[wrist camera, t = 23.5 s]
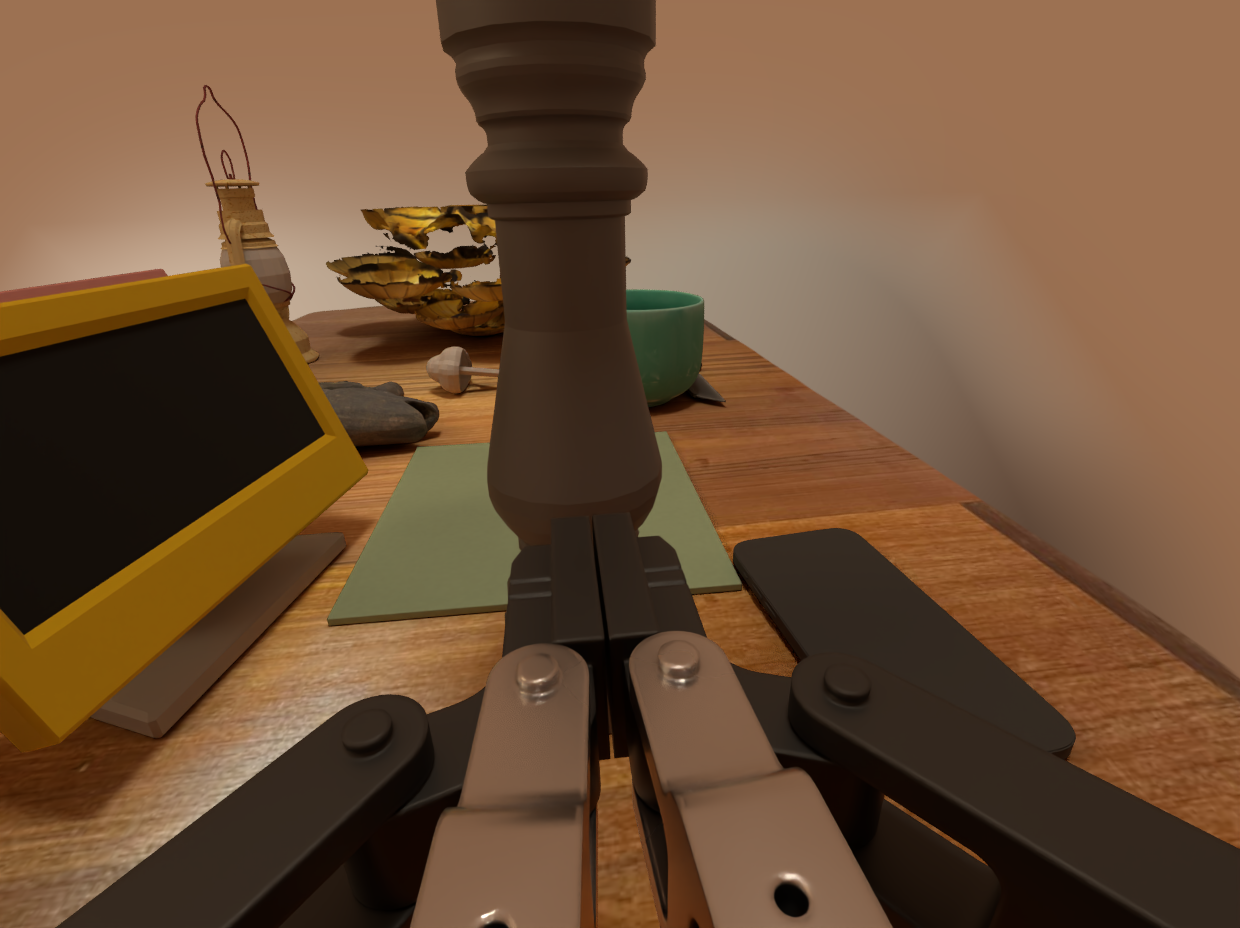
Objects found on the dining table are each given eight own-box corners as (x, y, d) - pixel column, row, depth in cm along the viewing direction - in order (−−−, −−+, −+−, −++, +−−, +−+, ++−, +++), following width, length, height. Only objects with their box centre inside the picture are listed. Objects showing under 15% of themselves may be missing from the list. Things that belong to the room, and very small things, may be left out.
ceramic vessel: (411, 396, 44) (460, 367, 58) (63, 399, 44) (199, 369, 58) (418, 463, 45) (465, 418, 60) (81, 466, 45) (210, 420, 59)
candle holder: (629, 759, 21) (605, -204, 11) (481, 710, 24) (349, -132, 13) (680, 647, 27) (696, -80, 16) (555, 615, 29) (501, -43, 19)
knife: (666, 368, 68) (666, 362, 68) (700, 366, 69) (700, 360, 69) (696, 407, 56) (697, 400, 55) (738, 404, 56) (739, 397, 56)
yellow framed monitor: (98, 822, 20) (-173, 340, 13) (-112, 804, 21) (-462, 342, 14) (381, 520, 38) (324, 255, 31) (263, 517, 39) (184, 258, 32)
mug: (687, 376, 66) (689, 286, 62) (715, 414, 54) (719, 306, 50) (533, 384, 64) (526, 293, 61) (529, 425, 53) (519, 315, 49)
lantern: (254, 353, 82) (183, 94, 69) (331, 348, 83) (274, 93, 71) (213, 377, 71) (120, 75, 58) (302, 371, 72) (229, 75, 60)
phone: (901, 788, 19) (725, 542, 32) (896, 805, 19) (724, 555, 33) (1095, 741, 21) (850, 525, 34) (1088, 759, 21) (848, 537, 34)
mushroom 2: (545, 354, 60) (420, 343, 58) (542, 401, 61) (419, 391, 59) (545, 354, 67) (433, 345, 65) (542, 397, 68) (431, 388, 66)
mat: (666, 435, 50) (666, 431, 50) (742, 590, 30) (742, 583, 30) (418, 451, 48) (417, 446, 48) (328, 626, 29) (326, 619, 28)
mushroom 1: (328, 388, 65) (287, 214, 58) (345, 318, 104) (322, 209, 97) (674, 348, 78) (676, 201, 71) (574, 299, 116) (569, 201, 109)
